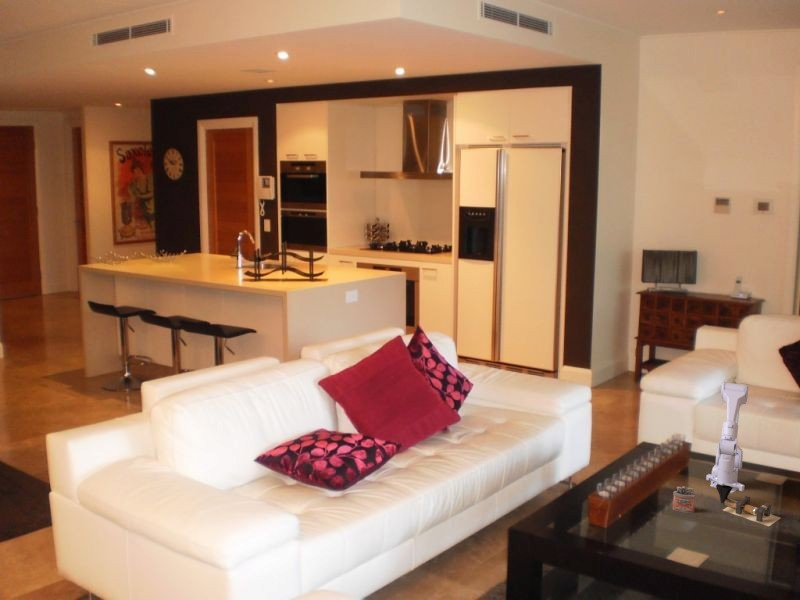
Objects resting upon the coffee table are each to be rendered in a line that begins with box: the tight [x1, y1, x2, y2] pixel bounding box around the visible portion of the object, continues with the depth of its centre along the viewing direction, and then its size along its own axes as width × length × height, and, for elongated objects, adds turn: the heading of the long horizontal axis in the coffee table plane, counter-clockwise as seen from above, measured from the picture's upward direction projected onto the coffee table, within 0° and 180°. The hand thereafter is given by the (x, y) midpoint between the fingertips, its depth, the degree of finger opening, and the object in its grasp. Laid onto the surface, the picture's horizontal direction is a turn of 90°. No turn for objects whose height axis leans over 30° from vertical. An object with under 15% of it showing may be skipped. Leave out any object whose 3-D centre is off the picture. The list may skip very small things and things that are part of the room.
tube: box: [723, 497, 764, 516], centre depth 319 cm, size 14×3×3 cm, turn 42°
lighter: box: [672, 486, 696, 514], centre depth 320 cm, size 8×3×10 cm, turn 68°
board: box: [722, 495, 781, 527], centre depth 317 cm, size 18×10×5 cm, turn 42°
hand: (723, 502), depth 325 cm, fingers closed
